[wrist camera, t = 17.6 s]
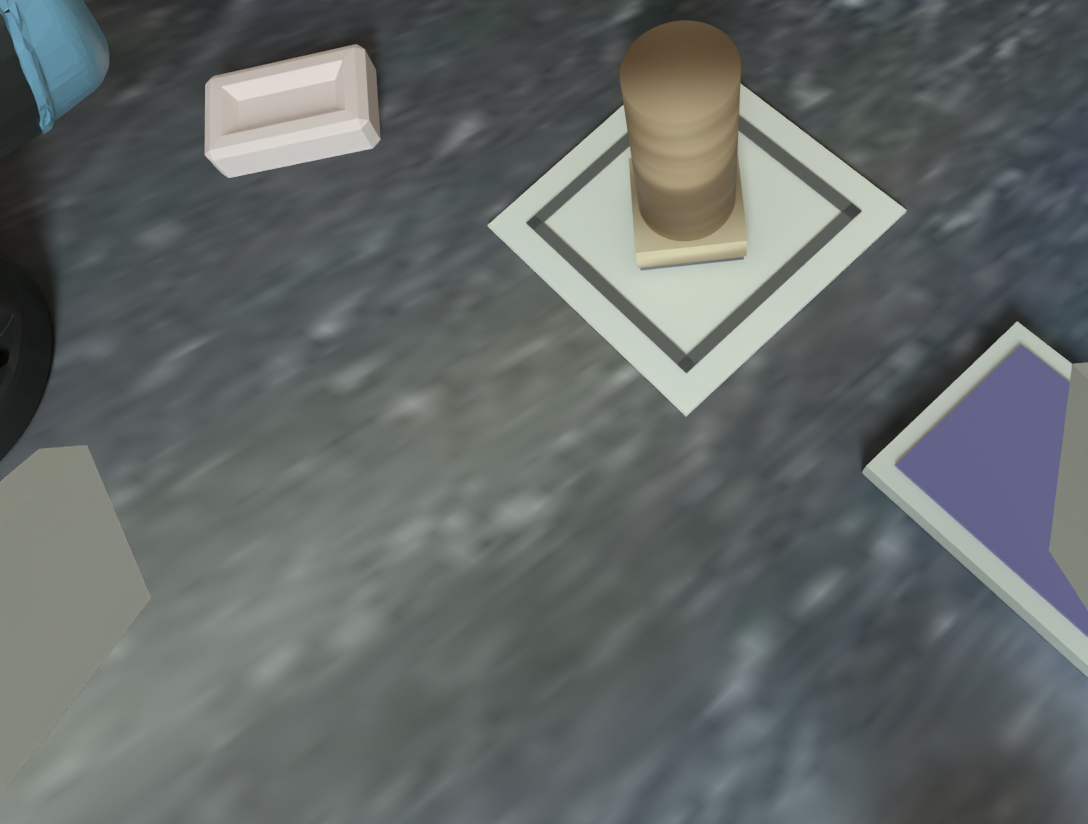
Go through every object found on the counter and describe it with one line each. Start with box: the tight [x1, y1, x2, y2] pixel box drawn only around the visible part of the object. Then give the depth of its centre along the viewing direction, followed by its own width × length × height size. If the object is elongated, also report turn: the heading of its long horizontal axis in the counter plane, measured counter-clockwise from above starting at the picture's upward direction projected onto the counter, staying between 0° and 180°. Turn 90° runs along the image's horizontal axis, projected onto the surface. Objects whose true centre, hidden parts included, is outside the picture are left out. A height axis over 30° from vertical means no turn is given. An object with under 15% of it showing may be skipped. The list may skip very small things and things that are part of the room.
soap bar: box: [205, 44, 380, 178], centre depth 49 cm, size 5×9×2 cm, turn 98°
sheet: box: [488, 83, 907, 416], centre depth 44 cm, size 14×14×1 cm
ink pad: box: [862, 322, 1088, 677], centre depth 37 cm, size 12×9×1 cm
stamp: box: [620, 20, 748, 270], centre depth 39 cm, size 5×5×11 cm
